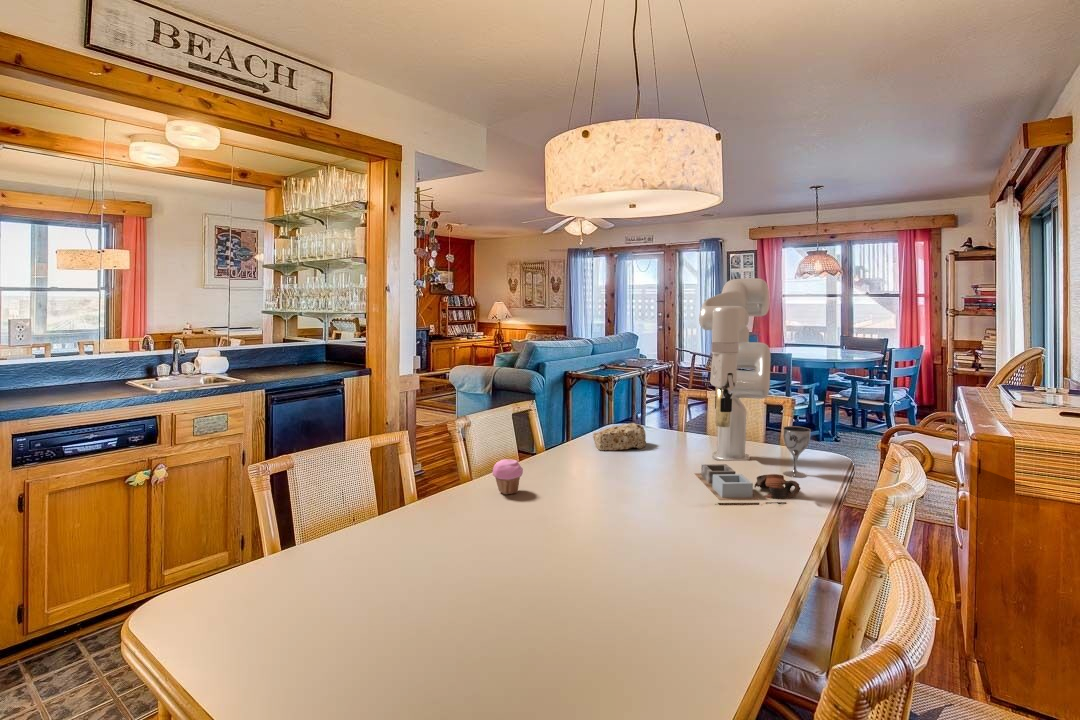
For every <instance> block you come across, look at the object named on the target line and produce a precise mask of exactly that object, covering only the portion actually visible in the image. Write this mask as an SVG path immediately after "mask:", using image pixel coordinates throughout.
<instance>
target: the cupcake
mask: <svg viewBox="0 0 1080 720" xmlns="http://www.w3.org/2000/svg"><path fill="white" fill-rule="evenodd" d="M523 472H524V470H523V467H522V465H521V464H520V463H519V461H518V460H515V459H513V458H512V459H511V458H508V459H506V458H503V459H501V460H499V461H497V462H496V463H495V464H494V465H493V468H492V476H493V477H495V478H494V479H495V481H496V485H497V489H498V491H499V492H500V493H501V494H503V495H510V494H511V495H512V494H517V493H518V492H519V487H520V479H521V477H522V476H523Z"/></svg>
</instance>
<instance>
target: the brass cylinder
mask: <svg viewBox="0 0 1080 720" xmlns="http://www.w3.org/2000/svg"><path fill="white" fill-rule="evenodd" d="M724 388H728V386H724ZM725 391H726V390H725ZM715 396H716V409H715V427H717V428H718V427H730V412H721V411H720V399H721V398H722V388H718V387H717V393H716V395H715Z"/></svg>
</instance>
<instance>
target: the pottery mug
mask: <svg viewBox="0 0 1080 720" xmlns="http://www.w3.org/2000/svg"><path fill="white" fill-rule="evenodd" d="M784 476H785V475H784V474H778V473H777V474H776V473H771V474H763V475H759V476H757V477H756V482H755V484H754V486H753V488H756V487H758V488H760V489H769V491H770V494H765V495H764V496H763V497H764V498H766V499H772V500H786V499H790V498H793V497H796V496H798V494H799V493H800V491H801V487H800V484H799V483H798V482H797V481H796V480H786V479H785V478H784ZM792 487H794V488H793V490H792V491H791V489H792ZM772 503H773V504H778V505H779V504H783V505H786V504H787V501H785V502H783V501H782V502H781V501H780V502H778V501H777V502H775V501H774V502H766V501H765V504H772Z"/></svg>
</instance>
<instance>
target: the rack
mask: <svg viewBox="0 0 1080 720" xmlns="http://www.w3.org/2000/svg"><path fill="white" fill-rule="evenodd" d="M753 485H754V483H753V482H752V481H751V480H750V479H748V478H747V477H746V476H744V475H743V474H741V473H735V474H713V484H712V488H713V489H714V490H715V491H716V492H717V493H718V494H719V495H720V496H721V497H722V498H752V494H754V493H753V490H754V486H753Z"/></svg>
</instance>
